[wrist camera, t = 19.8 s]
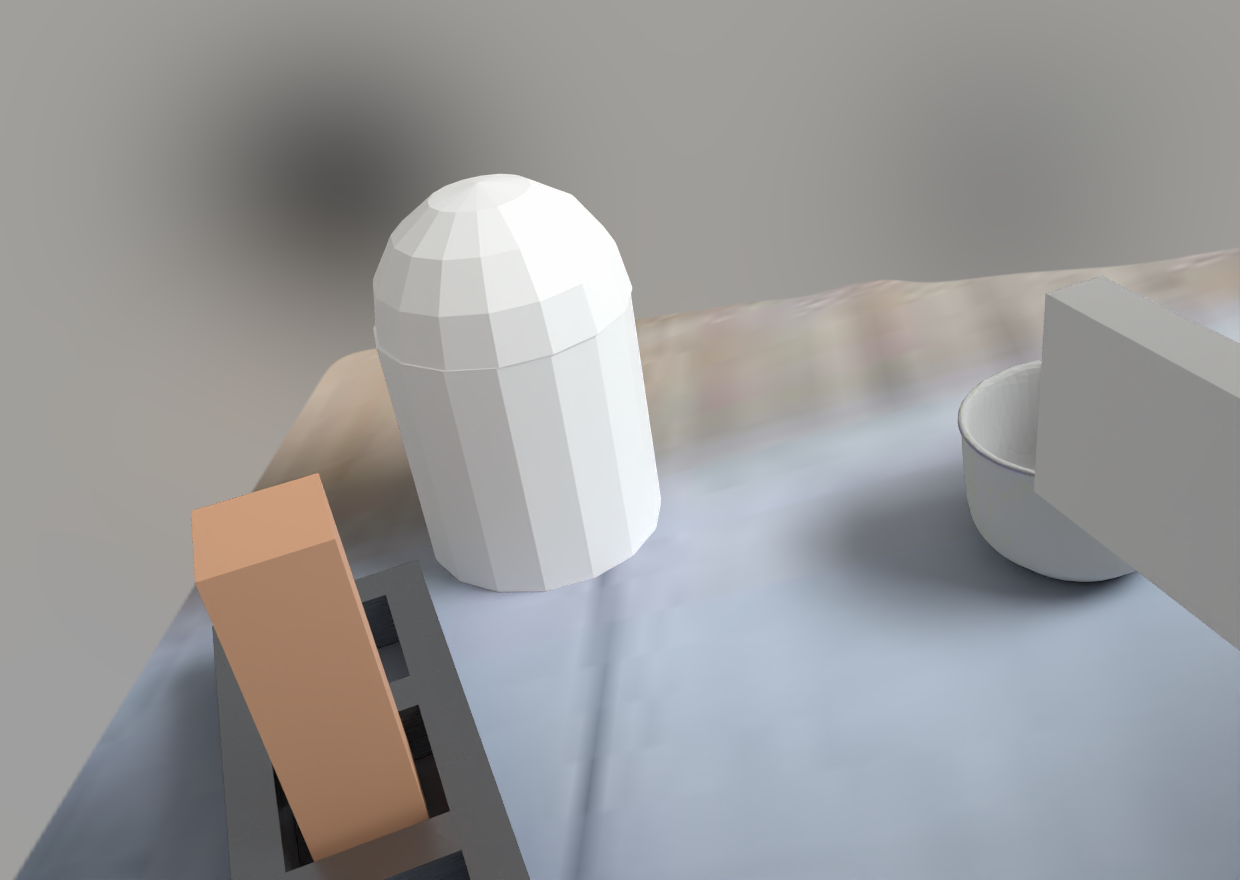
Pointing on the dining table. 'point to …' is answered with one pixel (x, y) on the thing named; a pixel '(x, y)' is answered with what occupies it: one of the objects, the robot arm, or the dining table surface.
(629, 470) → the container
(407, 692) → the rail
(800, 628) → the dining table surface
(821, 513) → the dining table surface
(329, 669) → the post
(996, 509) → the teacup
